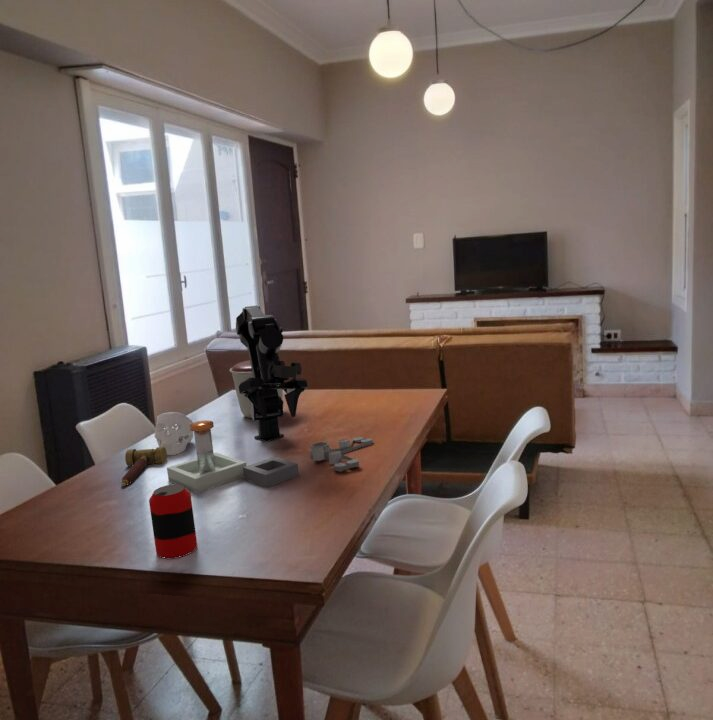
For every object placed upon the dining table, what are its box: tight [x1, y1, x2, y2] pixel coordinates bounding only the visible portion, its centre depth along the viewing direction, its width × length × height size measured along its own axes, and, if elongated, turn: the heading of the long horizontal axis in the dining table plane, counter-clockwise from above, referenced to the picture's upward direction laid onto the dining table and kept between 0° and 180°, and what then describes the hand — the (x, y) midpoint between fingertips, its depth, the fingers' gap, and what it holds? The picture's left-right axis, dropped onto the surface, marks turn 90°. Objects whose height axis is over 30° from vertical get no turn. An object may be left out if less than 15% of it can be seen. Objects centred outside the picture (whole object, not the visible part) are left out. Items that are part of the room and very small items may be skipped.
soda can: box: [148, 484, 198, 559], centre depth 128 cm, size 8×8×12 cm
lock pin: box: [190, 420, 215, 475], centre depth 167 cm, size 6×6×13 cm
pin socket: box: [243, 456, 300, 488], centre depth 165 cm, size 10×10×3 cm
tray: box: [166, 452, 247, 494], centre depth 168 cm, size 14×14×4 cm
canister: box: [229, 359, 284, 419], centre depth 226 cm, size 18×18×21 cm
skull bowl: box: [154, 411, 194, 457], centre depth 196 cm, size 10×14×12 cm
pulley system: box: [309, 436, 373, 473], centre depth 178 cm, size 27×5×15 cm
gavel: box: [121, 446, 168, 487], centre depth 176 cm, size 21×5×10 cm
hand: (279, 417), depth 177 cm, fingers open, 9 cm apart
